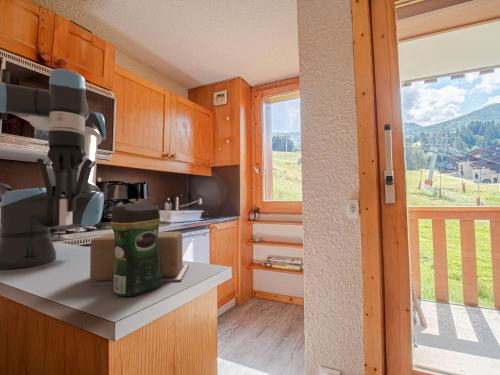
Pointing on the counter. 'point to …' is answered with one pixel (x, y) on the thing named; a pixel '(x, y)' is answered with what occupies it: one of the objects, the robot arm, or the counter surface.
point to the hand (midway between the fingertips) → (65, 224)
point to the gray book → (164, 279)
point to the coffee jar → (136, 248)
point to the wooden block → (105, 251)
